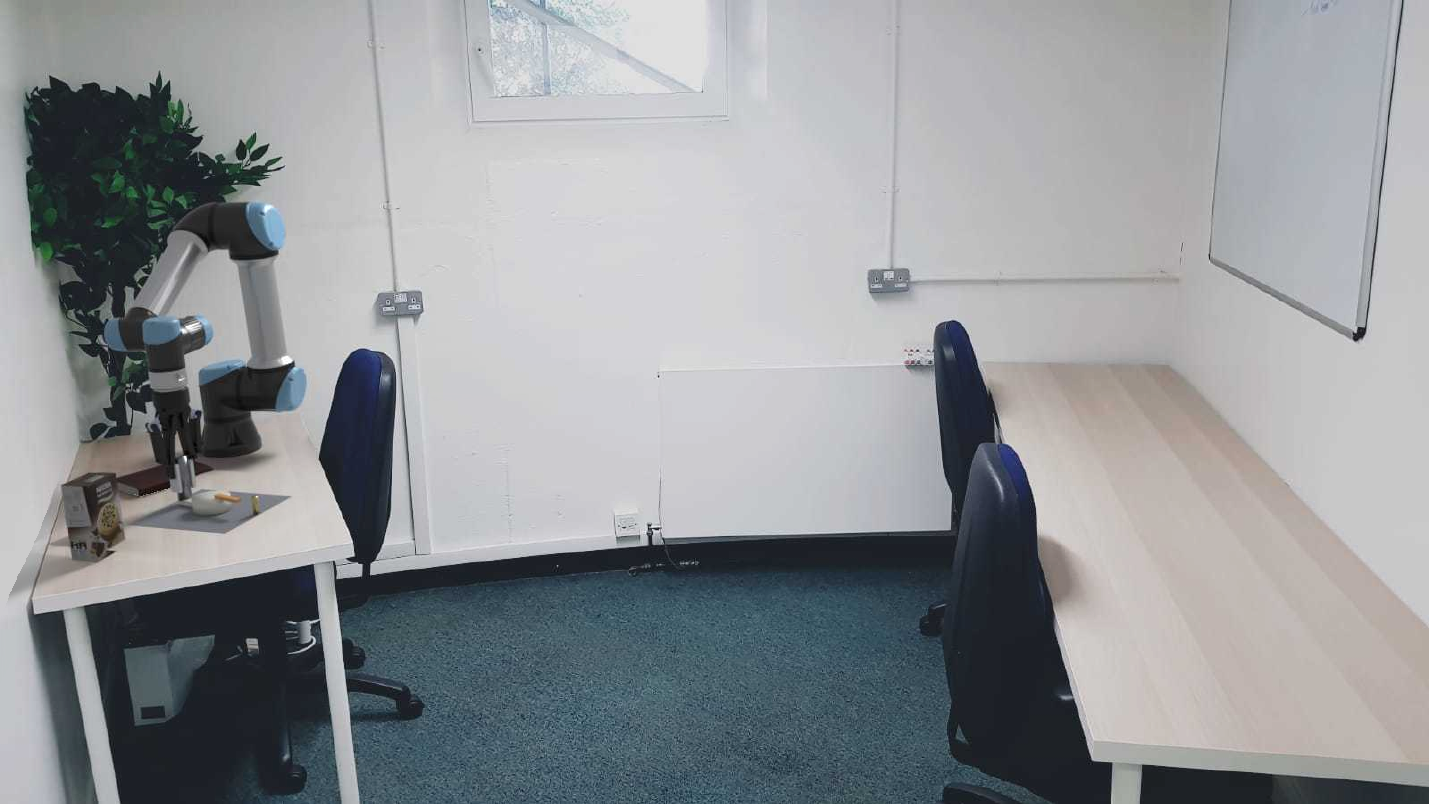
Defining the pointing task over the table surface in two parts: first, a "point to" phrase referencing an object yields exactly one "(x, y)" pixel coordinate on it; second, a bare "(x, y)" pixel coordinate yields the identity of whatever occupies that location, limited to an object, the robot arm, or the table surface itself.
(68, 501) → the cookie box
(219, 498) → the white grey handled piece
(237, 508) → the dial base plate
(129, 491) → the book
